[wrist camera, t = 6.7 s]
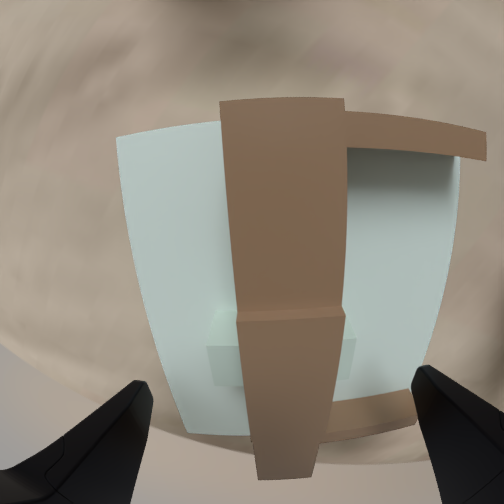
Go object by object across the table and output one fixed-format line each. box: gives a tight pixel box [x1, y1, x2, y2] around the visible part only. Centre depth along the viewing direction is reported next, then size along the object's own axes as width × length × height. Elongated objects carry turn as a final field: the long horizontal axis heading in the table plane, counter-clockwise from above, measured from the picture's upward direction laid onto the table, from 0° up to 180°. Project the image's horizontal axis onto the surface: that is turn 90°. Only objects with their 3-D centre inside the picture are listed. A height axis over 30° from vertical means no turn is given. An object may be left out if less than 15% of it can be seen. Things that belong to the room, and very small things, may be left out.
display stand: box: [116, 121, 460, 436], centre depth 11 cm, size 13×16×4 cm
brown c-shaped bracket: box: [219, 97, 486, 480], centre depth 9 cm, size 8×14×4 cm, turn 4°
